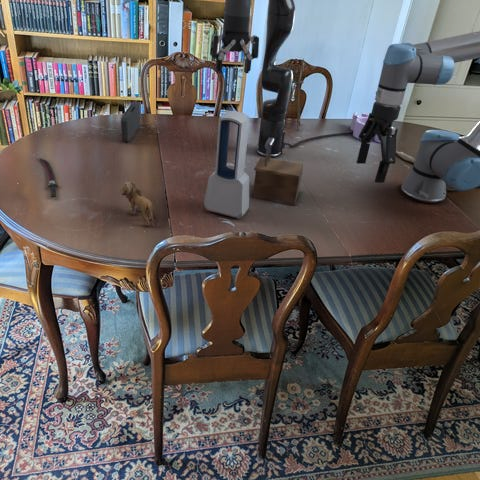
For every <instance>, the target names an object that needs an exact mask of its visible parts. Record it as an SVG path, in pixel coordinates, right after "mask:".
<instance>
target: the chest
mask: <svg viewBox="0 0 480 480" xmlns="http://www.w3.org/2000/svg"><path fill="white" fill-rule="evenodd" d="M303 171H304V168H303V169H302V172H301V175H300V178H293V177H288V176H283V175H277V174H272V173H267V172H261V171H256V170H255V173H254V174H255V175H254V184H253V191H252V198H255V199H260V200H264V201H268V202H274V203H279V204H283V205H284V204H285V205H289V206H295V205H296V202H297V199H298V196H299V193H300V187H301V182H302V177H303Z"/></svg>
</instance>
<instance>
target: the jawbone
mask: <svg viewBox="0 0 480 480" xmlns="http://www.w3.org/2000/svg"><path fill="white" fill-rule="evenodd" d="M396 155H397V156H398V157H400V158H401V159H402V160H403V161H406V162H409V163H412V164H414V162H415V159H416V157H415V158H414V157H413V156H411V155H409V154H406V153H405V152H403V151H399V150H397V149H396Z"/></svg>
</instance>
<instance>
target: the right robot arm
mask: <svg viewBox="0 0 480 480" xmlns="http://www.w3.org/2000/svg"><path fill="white" fill-rule="evenodd" d="M386 49H387V50H386V52H385V54H384V58H383V61H382V62H383V63H382V67H381V73H380V76H379V80H378V85H377V89H376V91H375V97H374V102H373V105H372V110H371V112H369V113H368V114H369V116H368V120H367V121H366V123H365V125H364V127H363V129H362V131H361V132H360V134H359V138H361V139H360V146H359V150H358V154H357V159H356V164H359V165H360V164H361V165H366V164H367V163H366V162H367V159H368V155H369V151H370V147H371V143H372V140H373V139H374V138H375V135H376V134H377V136H378V139H379V140H380V152H381V153H380V154H381V160H379V164H378V168H377V172H376V175H375V178H374V183H377V184H384V183H385V181H386V179H387V174H388V172H389V169H390V165H391V164H396V161H397V160H396V158H397V156H396V155H397V154H396V150H397V136H398V131H399V129H398V127H393V123H394V121H396V120H398V119H399V115H400V112H401V108H402V107H401V105H402V104H403V101H404V97H405V93H406V90H407V87H408V84H419V85H420V84H421V85H433V86H436V85H437V86H438V85H445V84H448V83H449V82H450V81H451V79H452V78H453V75H454V73H455V63H462V62H465V61H470V60H471V61H472V60H477V59H480V30H478V31H473V32H469V33H464V34H459V35H454V36H450V37H445V38H440V39H435V40H431V41H425V42H419V43H414V44H413V43H409V42H401V43H391V44H390V45H388V47H387V48H386ZM363 134H365V135H363ZM447 186H449V187H451V188H449V187H447ZM475 188H480V120H479V121H478V122H477V124H476V125H475V126H474V127H473V128H472V130H471V131H470V132H469V133H468V134H467V135H464V136H461V134H458V133H456V132H453V131H448V130H442V129H429V130H426V131H424V133H423V135H422V137H421V139H420V143H419V146H418V150H417V153H416V156H415V162H414V163H413V166H412V169H411V171H410V172H409V174H408V175H407V176H406V178H405V180H404V181H402V183H401V186H400V191H401V193H402V194H403V195H404V196H406V197H407V198H408V199H411V200H413V201H416V202H419V203H424V204H431V205H432V204H433V205H435V204H436V205H437V204H441V203H443V202H444V201H445V199H446V196H447V191H449V192H455V191H457V192H458V191H459V192H467V191H471V190H474V189H475Z"/></svg>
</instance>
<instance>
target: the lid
mask: <svg viewBox="0 0 480 480" xmlns="http://www.w3.org/2000/svg"><path fill="white" fill-rule="evenodd" d="M273 143H274V138H272V137H270V138H269V139H268V140H267V142H266V144H265V148H266V157H265V156H260V157H259V159H258V160H257V162H256V164H255V166H254V168H253V170H254V171H255V172H256V171H261V172H267V173H272V174H277V175H283V176H288V177H293V178H300V175H301V172H302V173H303V171H302V169H303V170H304V166H305V165H304V163H300V162H299V163H298V162H293V161H287V160H282V159H277V158H273V157H270V153H271V146H272V145H273Z"/></svg>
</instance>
